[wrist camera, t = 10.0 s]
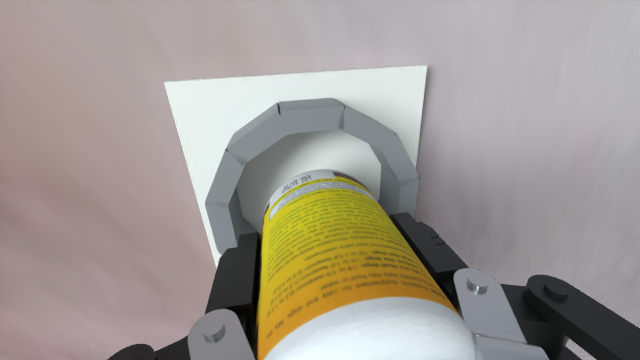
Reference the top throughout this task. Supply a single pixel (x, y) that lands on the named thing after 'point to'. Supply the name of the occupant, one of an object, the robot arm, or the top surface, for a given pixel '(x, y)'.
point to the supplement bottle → (346, 281)
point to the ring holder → (296, 139)
